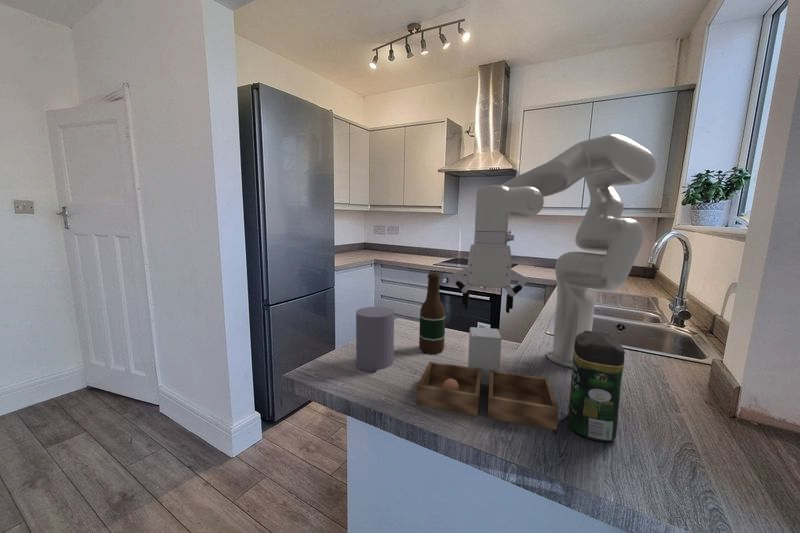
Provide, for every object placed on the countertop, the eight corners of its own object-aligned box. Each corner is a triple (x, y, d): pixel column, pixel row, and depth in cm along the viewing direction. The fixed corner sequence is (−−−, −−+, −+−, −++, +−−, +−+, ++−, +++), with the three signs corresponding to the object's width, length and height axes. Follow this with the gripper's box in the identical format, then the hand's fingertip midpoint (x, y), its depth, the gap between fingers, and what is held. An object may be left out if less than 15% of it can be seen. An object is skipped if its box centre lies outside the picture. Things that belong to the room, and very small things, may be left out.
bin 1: (480, 388, 76) (481, 369, 76) (477, 419, 64) (478, 396, 64) (428, 380, 80) (429, 361, 79) (416, 408, 68) (417, 386, 67)
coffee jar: (565, 409, 68) (573, 325, 66) (609, 419, 65) (619, 331, 63) (569, 436, 60) (578, 340, 57) (619, 449, 56) (631, 348, 54)
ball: (459, 392, 73) (460, 377, 73) (457, 400, 70) (458, 384, 69) (443, 389, 74) (444, 374, 74) (441, 397, 71) (441, 382, 70)
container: (368, 353, 96) (368, 305, 94) (399, 360, 91) (400, 309, 89) (348, 367, 87) (348, 313, 85) (382, 375, 82) (382, 319, 80)
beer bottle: (445, 355, 96) (448, 276, 92) (419, 354, 96) (421, 275, 92) (442, 345, 103) (445, 272, 100) (418, 344, 103) (420, 271, 100)
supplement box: (499, 389, 76) (502, 338, 75) (467, 385, 78) (469, 335, 76) (496, 375, 84) (499, 328, 82) (467, 372, 85) (469, 326, 83)
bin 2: (546, 399, 72) (548, 378, 71) (556, 434, 60) (558, 409, 60) (488, 390, 76) (489, 370, 75) (487, 421, 64) (488, 397, 63)
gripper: (528, 239, 77) (523, 309, 79) (455, 237, 82) (452, 303, 84) (531, 241, 70) (526, 317, 72) (451, 238, 74) (449, 310, 77)
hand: (486, 309), depth 78 cm, fingers open, 9 cm apart
